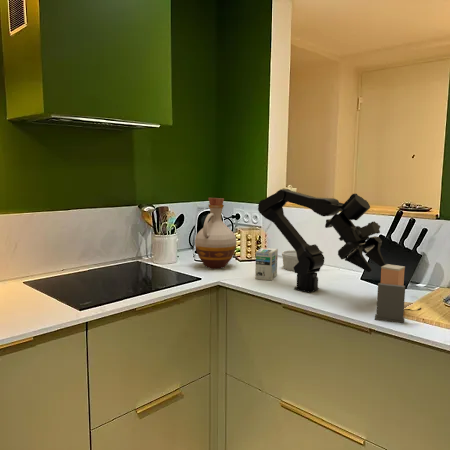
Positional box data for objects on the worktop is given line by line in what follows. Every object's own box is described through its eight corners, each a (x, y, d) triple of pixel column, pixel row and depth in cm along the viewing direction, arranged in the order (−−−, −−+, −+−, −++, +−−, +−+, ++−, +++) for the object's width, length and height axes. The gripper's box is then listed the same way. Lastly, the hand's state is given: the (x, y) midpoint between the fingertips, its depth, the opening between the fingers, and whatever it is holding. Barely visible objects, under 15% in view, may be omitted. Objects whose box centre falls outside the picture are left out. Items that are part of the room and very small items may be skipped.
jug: (223, 274, 167) (224, 199, 164) (185, 269, 175) (185, 197, 171) (242, 265, 185) (243, 197, 181) (206, 261, 192) (207, 195, 189)
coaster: (392, 306, 129) (393, 305, 128) (400, 301, 134) (400, 300, 134) (416, 312, 124) (416, 310, 124) (424, 306, 129) (424, 305, 129)
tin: (378, 310, 125) (381, 266, 124) (385, 306, 129) (387, 264, 128) (395, 314, 122) (398, 269, 120) (402, 310, 126) (404, 266, 124)
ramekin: (311, 273, 171) (312, 256, 170) (279, 271, 175) (279, 254, 174) (313, 266, 184) (314, 251, 183) (283, 264, 187) (284, 249, 187)
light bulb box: (271, 281, 158) (272, 253, 157) (254, 279, 160) (255, 251, 159) (277, 274, 168) (278, 248, 167) (261, 273, 170) (261, 247, 169)
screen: (374, 319, 117) (376, 284, 116) (375, 316, 120) (377, 282, 119) (404, 323, 114) (406, 288, 113) (404, 320, 117) (406, 285, 116)
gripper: (348, 215, 123) (383, 257, 116) (377, 211, 136) (410, 249, 129) (324, 238, 129) (355, 279, 123) (354, 233, 142) (384, 270, 136)
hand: (377, 269), depth 128 cm, fingers open, 9 cm apart
